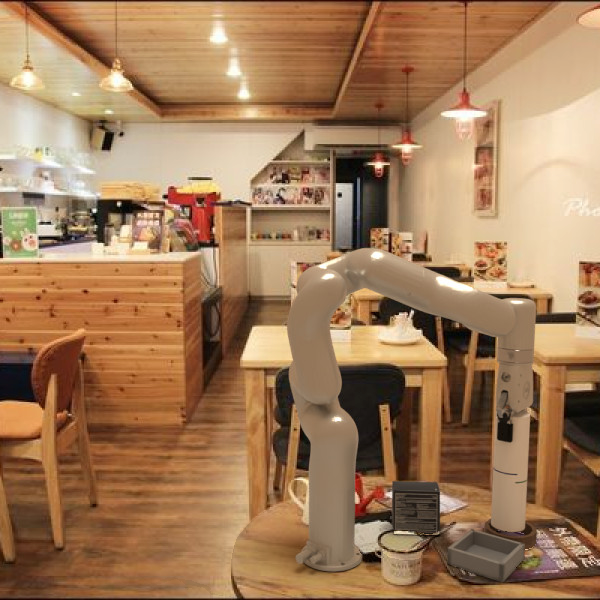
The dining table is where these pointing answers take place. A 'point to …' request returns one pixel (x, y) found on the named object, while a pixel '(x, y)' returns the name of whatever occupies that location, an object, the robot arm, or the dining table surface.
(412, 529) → the small box
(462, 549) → the tray
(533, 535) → the collar
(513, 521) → the cylindrical container
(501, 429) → the robot arm
